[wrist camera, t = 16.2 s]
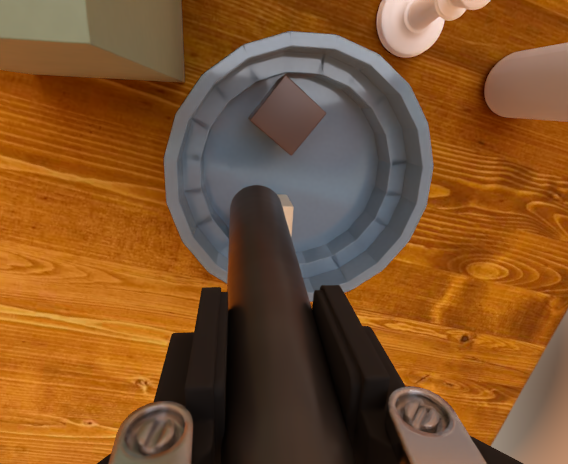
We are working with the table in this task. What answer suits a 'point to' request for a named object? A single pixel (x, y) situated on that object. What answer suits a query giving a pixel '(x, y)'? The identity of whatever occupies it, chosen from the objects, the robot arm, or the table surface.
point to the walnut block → (287, 115)
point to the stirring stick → (274, 348)
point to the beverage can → (530, 84)
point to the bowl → (304, 157)
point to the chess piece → (417, 22)
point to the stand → (93, 38)
